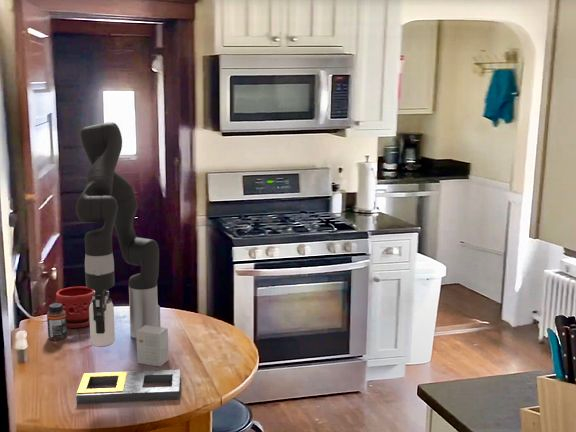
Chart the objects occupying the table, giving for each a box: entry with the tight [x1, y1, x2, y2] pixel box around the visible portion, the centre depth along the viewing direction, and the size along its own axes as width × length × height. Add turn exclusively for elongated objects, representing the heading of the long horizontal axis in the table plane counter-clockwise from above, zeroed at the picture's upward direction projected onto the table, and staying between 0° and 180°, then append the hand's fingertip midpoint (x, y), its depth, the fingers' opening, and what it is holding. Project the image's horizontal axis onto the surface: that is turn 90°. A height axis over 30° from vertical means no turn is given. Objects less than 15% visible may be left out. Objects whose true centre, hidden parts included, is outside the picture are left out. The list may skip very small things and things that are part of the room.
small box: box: [135, 325, 170, 367], centre depth 214 cm, size 8×6×10 cm
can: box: [89, 297, 116, 348], centre depth 191 cm, size 6×6×12 cm
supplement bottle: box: [46, 302, 68, 341], centre depth 232 cm, size 6×6×11 cm
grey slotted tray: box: [75, 369, 181, 405], centre depth 196 cm, size 27×14×3 cm, turn 97°
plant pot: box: [55, 286, 95, 329], centre depth 245 cm, size 13×13×12 cm
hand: (102, 328), depth 191 cm, fingers closed on can, 6 cm apart
